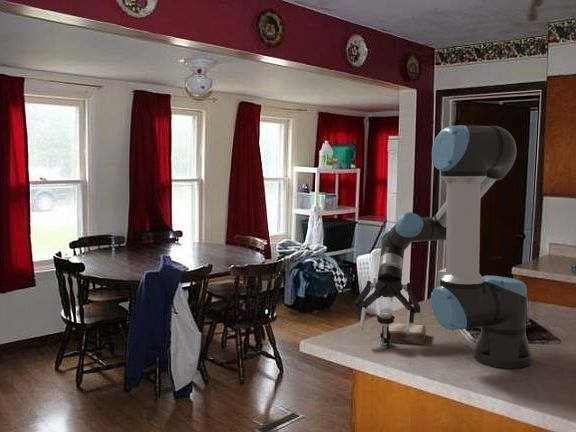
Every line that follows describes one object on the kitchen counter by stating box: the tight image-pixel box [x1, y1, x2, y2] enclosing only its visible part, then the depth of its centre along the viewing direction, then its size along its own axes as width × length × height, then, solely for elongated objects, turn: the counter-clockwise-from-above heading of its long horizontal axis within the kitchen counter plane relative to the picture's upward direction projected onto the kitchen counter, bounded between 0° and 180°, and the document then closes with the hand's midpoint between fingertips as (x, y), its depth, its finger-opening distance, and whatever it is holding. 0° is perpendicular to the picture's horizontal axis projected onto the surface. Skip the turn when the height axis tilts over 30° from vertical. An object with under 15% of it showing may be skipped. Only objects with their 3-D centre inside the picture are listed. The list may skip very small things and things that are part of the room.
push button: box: [376, 311, 395, 349], centre depth 173 cm, size 7×5×10 cm
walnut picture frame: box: [388, 322, 427, 345], centre depth 181 cm, size 12×10×3 cm
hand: (384, 330), depth 171 cm, fingers open, 13 cm apart
